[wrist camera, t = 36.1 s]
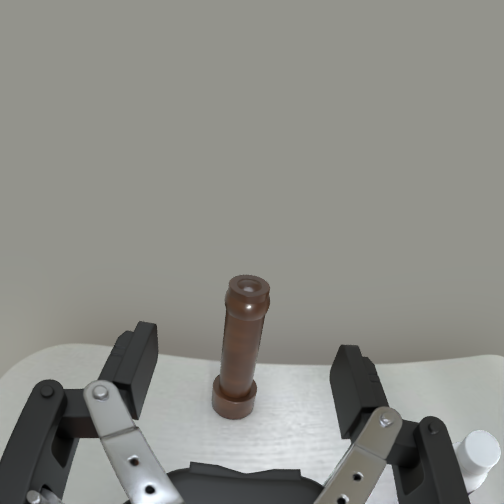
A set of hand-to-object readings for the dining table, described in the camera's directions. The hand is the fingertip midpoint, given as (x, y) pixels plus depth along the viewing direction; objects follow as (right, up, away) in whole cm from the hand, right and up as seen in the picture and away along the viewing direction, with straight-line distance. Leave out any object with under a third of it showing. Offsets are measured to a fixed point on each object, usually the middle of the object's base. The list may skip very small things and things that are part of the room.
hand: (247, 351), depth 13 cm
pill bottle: (+17, -20, +7) cm, 27 cm away
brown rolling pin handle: (-2, -12, +18) cm, 22 cm away
